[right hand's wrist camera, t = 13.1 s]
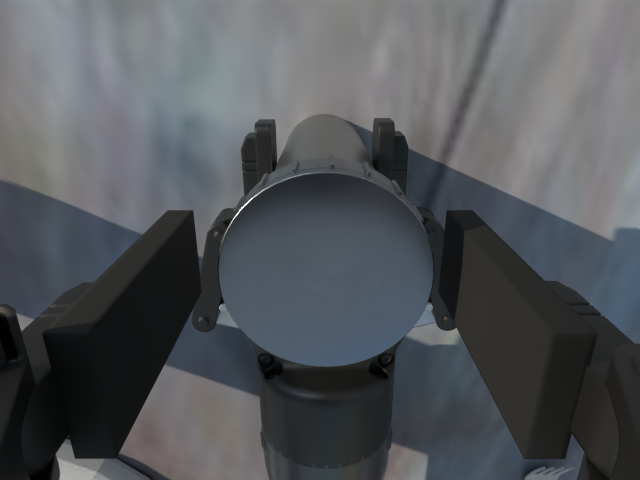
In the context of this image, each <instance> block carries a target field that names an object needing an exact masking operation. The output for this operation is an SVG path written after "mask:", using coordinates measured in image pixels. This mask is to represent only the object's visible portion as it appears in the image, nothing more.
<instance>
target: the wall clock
mask: <svg viewBox="0 0 640 480" xmlns="http://www.w3.org/2000/svg"><path fill="white" fill-rule="evenodd" d="M56 456H57V459H58V463H59V468H60V479H59V480H151V479H150V478H148V477H146V476H145V475H143V474H141V473H140V472H138V471H136V470H135V469H133V468H131V467H130V466H128V465H126V464H124V463H123V462H121V461H119V460H118V459H75V457H74V453H73V449H72V446H71V442H70V440H68V439H66V440H65V441H64V443H63V444H62V446H61V447H60V449H59V450H58V451H57V453H56Z"/></svg>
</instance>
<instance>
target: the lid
mask: <svg viewBox="0 0 640 480" xmlns="http://www.w3.org/2000/svg"><path fill="white" fill-rule="evenodd" d="M233 212H234V213H236V214H235V216H234V217H233V219H232V221H231V223H230V225H229V226H228V227H227V229H226V231H225V233H224V234H223V236H222V238H221V240H220V243H221V246H220V251H219V256H218V268H217V271H218V283H219V287H220V292H221V295H222V298H223V301H224V303H225V306H226V308H227V310H228V312H229V314H230V315H231V317H232V319H233V320H234V321H235V323H236V324H237V326H238V327H239V328H240V329H241V330H242V331H243V332H244V334H245V335H246V336H247V337H248V338H250V339H251V340H252V341H253V342H254V343H256V344H257V345H258V346H260V347H261V348H263V349H264V350H266V351H267V352H269V353H271V354H273V355H275V356H277V357H279V358H282V359H285V360H288V361H290V362H294V363H298V364H302V365H308V366H316V367H334V366H344V365H349V364H354V363H358V362H361V361H364V360H367V359H370V358H372V357H374V356H376V355H379V354H381V353H382V352H384V351H386V350H387V349H389V348H391V347H392V346H393V345H395V344H396V343H397V342H399V341H400V340H401V339H402V338H403V337H404V336H405V335H406V334H407V333H408V332H409V331H410V330H411V329H412V328H413V327H414V325H415V324H416V323H417V322H418V320H419V318H420V317H421V315H422V313H423V312H424V310H425V308H426V305H427V303H428V301H429V298H430V295H431V291H432V288H433V282H434V274H435V270H434V256H433V253H434V251H433V249H432V246H431V243H430V240H429V237H428V234H427V232H426V230H425V228H424V226H423V224H422V222H424V219H423V218H422V216H421V214H420V213H419V211H418V210H417V208H416V206H415V205H413V206H412V205H411V204H410V202H409V201H408V199H407V198H406V196H405V195H404V194H403V192H402V191H401V189H400V187H399V185H398V184H397V182H396V181H395V180H393V181H392V182H391V181H390V180H389V179H388V178H387V177H385V176H384V175H382V174H381V173H379V172H377V171H376V170H374V169H372V168H370V167H369V165H368V163H366V162H364V163H363V164H360V163H357V162H353V161H350V160H345V159H338V158H334V155H330V156H329V158H314V159H306V160H302V161H299V159H295V160H294V163H292V164H289V165H287V166H284V167H282V168H280V169H278V170H276V171H274V172H273V173H271V174H269V175H268V174H267V173H266V174H264V175H263V177H262V179H261V181H260V182H259V183H258V184H257V185H256V186H255V187H254V188H253V189H252V190H251V191H250V192H249V193H248V195H247V196H246V197H244V196H242V198H241V199H240V201H239V203H238V204H237V206H236V208H235V209H234V211H233Z"/></svg>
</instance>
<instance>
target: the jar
mask: <svg viewBox="0 0 640 480" xmlns="http://www.w3.org/2000/svg"><path fill="white" fill-rule="evenodd" d="M330 155H334V158H338V159H345V160H350V161H353V162H357V163H360V164H363V163H364V162H366V163H368V165H369V167H370V168H372V169H374V167H373V164H372V162H371V160H370V158H369V156H368V154H367V151H366V149H365V147H364V145H363V143H362V141H361V138H360V136H359V134H358V133H357V131H356V130H355V129H354V127H353V126H352V125H351V124H349V123H348V122H347V121H345V120H344V119H342V118H339V117H337V116H333V115H316V116H312V117H310V118H307V119H305V120H304V121H302V122H301V123H300V124H298V125H297V126H296V127H295V128H294V130H293V131H292V133H291V134H290V136H289V138H288V141H287V143H286V145H285V147H284V150H283V152H282V154H281V157H280V159H279V161H278V164H277V166H276V168H275V171H276V170H278V169H280V168H282V167H284V166H287V165H289V164H292V163H294V160H295V159H299V161H302V160H306V159H314V158H329V156H330ZM374 170H375V169H374Z"/></svg>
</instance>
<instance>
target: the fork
mask: <svg viewBox="0 0 640 480" xmlns="http://www.w3.org/2000/svg"><path fill="white" fill-rule="evenodd" d="M544 469H545V467H540V468H538V469H535V470H533V471H532V472H530V473H529V474H528V475H526V477H525V478H524V480H557V479H558V478H559V476H560V475H561V474H563V473H565V472H567V471H569V470H573V469H574V467H573V466H572V467H569V468H566V469H564V467H559V468H556V469H555V467H554V466H553V467H550V468H547V469H545V470H544ZM553 469H554V470H553ZM541 470H543V471H541ZM550 470H552V471H550ZM560 470H561V471H560ZM539 471H541V472H539ZM548 471H550V472H548ZM557 471H559V472H557ZM537 472H539V473H537ZM546 472H548V473H546ZM555 472H557V473H555ZM535 473H537V474H535ZM545 473H546V474H545ZM554 473H555V474H554Z"/></svg>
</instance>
